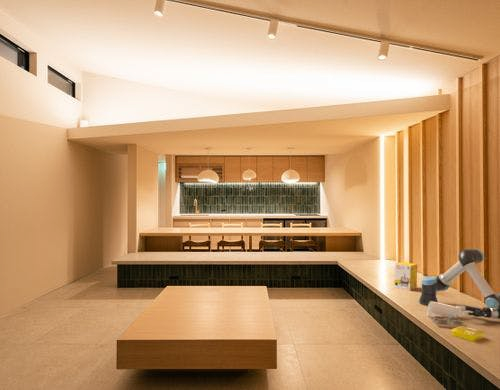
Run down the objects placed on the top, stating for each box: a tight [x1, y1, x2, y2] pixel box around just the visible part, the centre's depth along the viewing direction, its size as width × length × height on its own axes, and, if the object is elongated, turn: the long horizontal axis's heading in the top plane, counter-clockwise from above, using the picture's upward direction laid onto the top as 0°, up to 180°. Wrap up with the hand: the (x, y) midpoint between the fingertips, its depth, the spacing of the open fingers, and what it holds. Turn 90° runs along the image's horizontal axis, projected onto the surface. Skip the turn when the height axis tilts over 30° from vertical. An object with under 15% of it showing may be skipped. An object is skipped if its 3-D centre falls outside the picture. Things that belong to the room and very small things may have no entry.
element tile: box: [451, 326, 485, 343], centre depth 242 cm, size 15×15×5 cm
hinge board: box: [430, 315, 470, 330], centre depth 265 cm, size 20×20×4 cm
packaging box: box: [393, 261, 418, 291], centre depth 375 cm, size 16×16×25 cm
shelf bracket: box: [426, 301, 463, 318], centre depth 282 cm, size 6×25×13 cm, turn 92°
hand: (459, 310), depth 280 cm, fingers open, 13 cm apart
